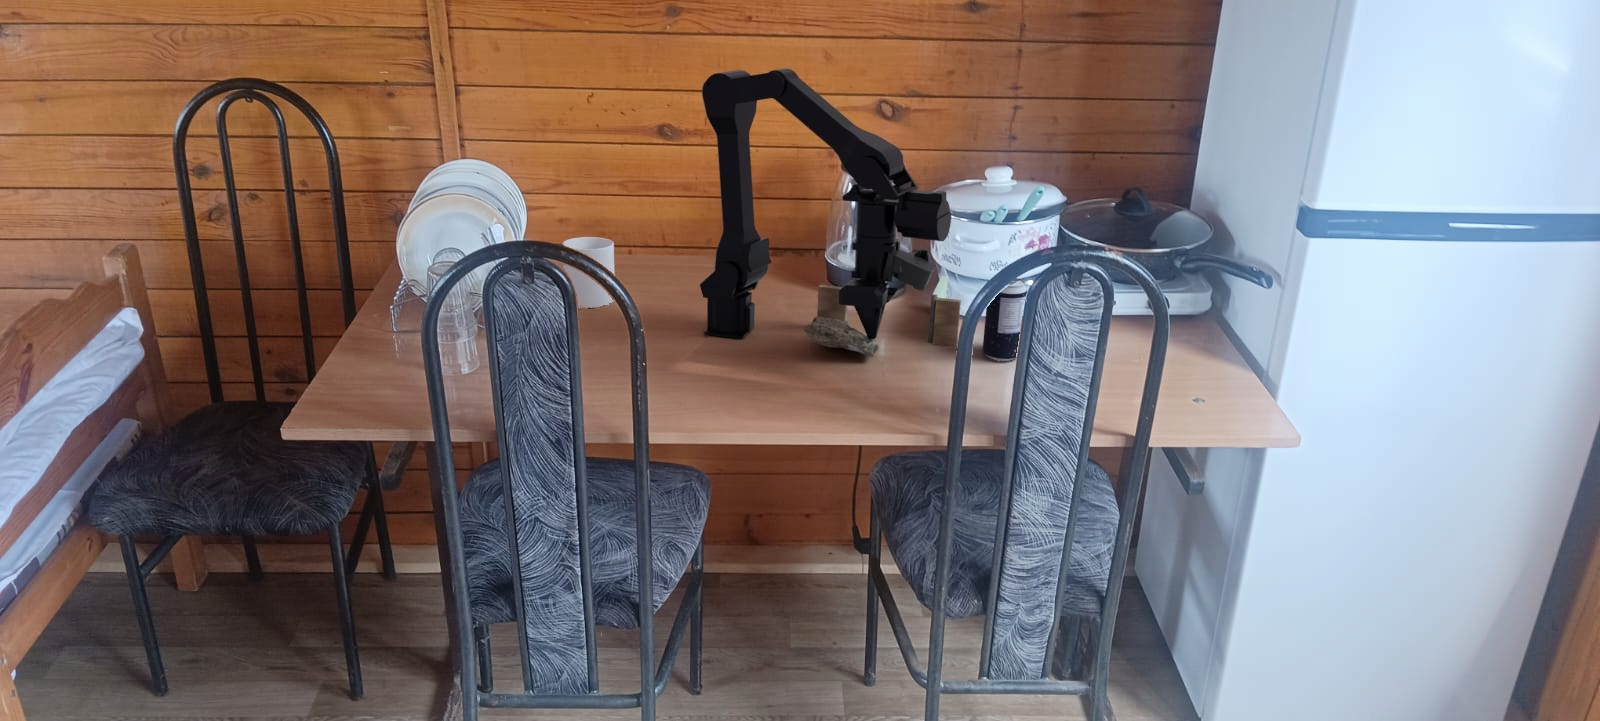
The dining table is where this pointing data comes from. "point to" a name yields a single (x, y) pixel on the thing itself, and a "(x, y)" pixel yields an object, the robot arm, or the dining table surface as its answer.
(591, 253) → the mug
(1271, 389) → the dining table surface
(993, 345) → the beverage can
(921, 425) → the dining table surface
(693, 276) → the dining table surface
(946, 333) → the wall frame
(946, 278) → the door
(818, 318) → the rock
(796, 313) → the dining table surface
